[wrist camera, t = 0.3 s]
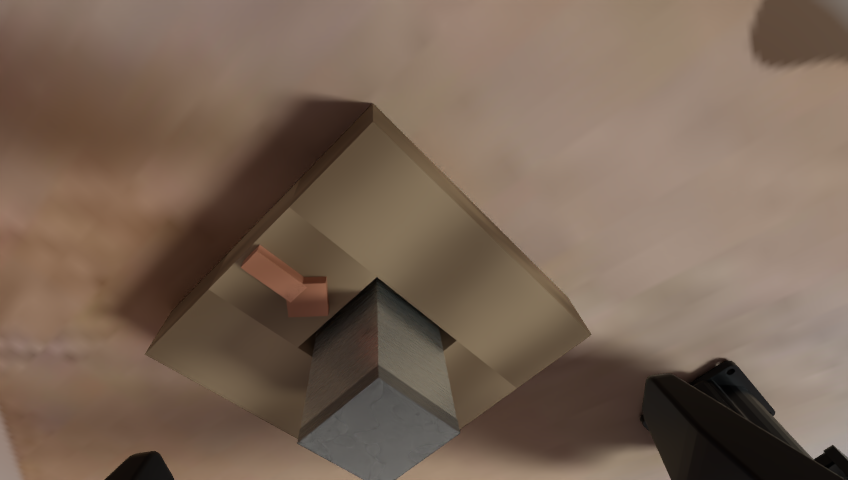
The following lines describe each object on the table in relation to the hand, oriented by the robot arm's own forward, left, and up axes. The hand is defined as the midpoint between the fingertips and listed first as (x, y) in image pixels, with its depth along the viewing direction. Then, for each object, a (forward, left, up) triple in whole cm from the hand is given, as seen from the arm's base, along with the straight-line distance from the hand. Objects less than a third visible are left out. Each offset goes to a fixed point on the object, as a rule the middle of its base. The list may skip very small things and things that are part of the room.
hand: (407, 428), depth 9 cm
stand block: (-4, +5, -13) cm, 15 cm away
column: (-4, +5, -13) cm, 15 cm away
